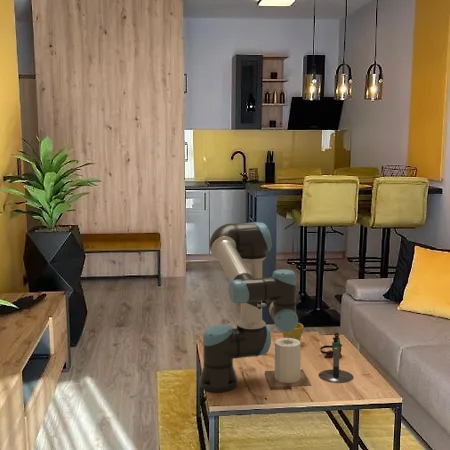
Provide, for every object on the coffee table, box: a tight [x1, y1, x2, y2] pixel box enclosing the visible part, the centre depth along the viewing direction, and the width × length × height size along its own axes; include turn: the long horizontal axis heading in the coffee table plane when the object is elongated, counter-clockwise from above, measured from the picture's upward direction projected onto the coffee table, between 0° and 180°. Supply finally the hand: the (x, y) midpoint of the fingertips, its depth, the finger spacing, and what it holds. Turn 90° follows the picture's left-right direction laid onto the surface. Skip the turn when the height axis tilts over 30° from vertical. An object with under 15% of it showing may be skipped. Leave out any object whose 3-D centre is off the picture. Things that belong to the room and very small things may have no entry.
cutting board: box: [264, 368, 312, 391], centre depth 237 cm, size 16×16×1 cm
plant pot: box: [280, 322, 304, 342], centre depth 278 cm, size 10×10×10 cm
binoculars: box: [319, 332, 343, 360], centre depth 261 cm, size 9×11×10 cm
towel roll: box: [274, 337, 302, 383], centre depth 236 cm, size 10×10×15 cm
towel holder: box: [318, 347, 354, 384], centre depth 238 cm, size 14×14×13 cm
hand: (269, 293), depth 226 cm, fingers open, 13 cm apart
